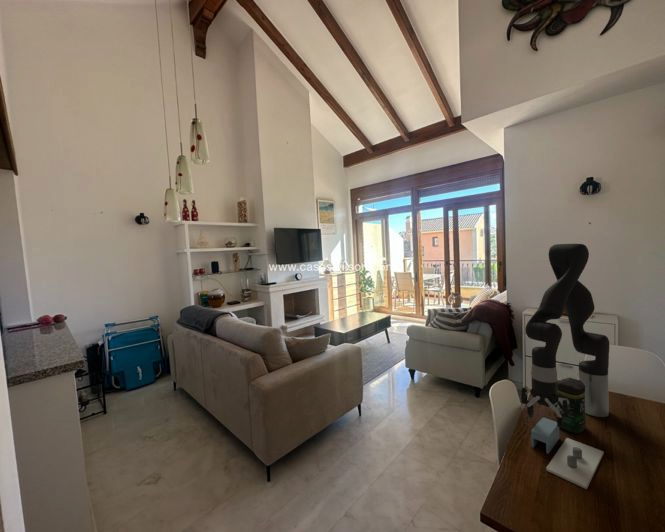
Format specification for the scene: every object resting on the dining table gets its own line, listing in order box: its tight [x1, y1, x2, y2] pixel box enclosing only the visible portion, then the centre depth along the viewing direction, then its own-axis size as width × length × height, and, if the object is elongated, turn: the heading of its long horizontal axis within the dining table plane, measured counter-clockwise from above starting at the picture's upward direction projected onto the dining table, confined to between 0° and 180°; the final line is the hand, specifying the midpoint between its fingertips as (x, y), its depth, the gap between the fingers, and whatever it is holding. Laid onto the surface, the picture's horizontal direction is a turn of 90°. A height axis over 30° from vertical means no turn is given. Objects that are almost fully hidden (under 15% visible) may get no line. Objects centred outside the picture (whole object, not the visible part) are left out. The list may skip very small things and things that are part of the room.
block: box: [530, 417, 560, 455], centre depth 107 cm, size 12×5×6 cm, turn 128°
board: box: [545, 437, 605, 490], centre depth 97 cm, size 22×10×3 cm, turn 128°
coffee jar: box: [557, 377, 587, 434], centre depth 114 cm, size 10×8×19 cm
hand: (544, 421), depth 106 cm, fingers open, 8 cm apart
